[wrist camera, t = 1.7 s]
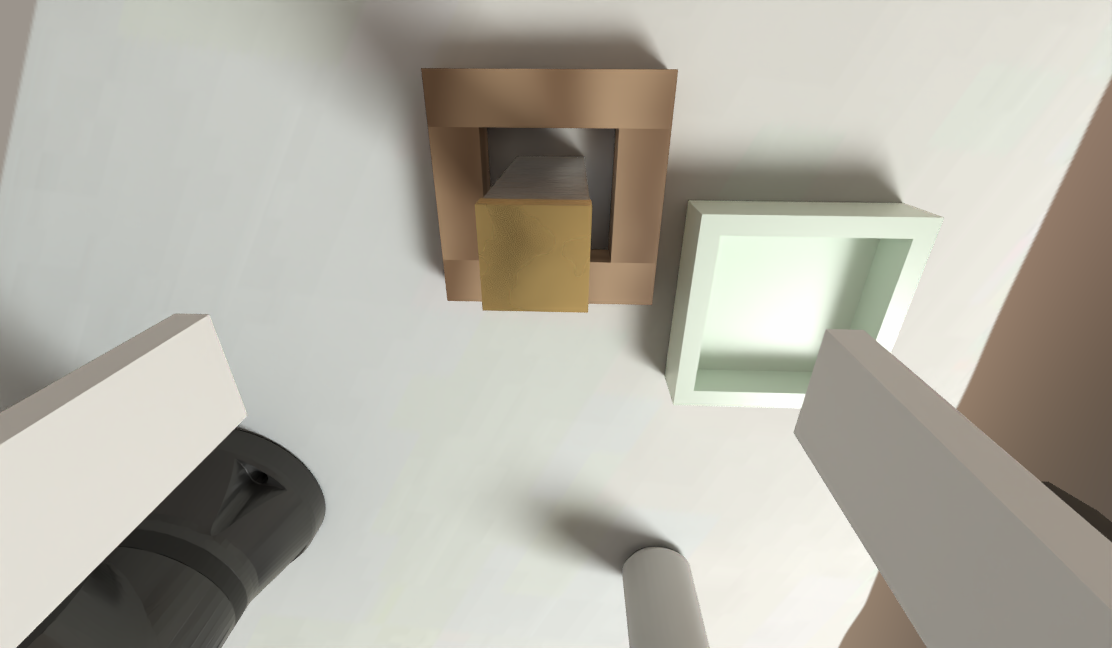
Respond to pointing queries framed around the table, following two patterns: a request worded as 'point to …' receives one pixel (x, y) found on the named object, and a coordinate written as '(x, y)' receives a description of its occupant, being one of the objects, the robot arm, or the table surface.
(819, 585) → the table surface
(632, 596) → the beverage can
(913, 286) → the bin
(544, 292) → the strut
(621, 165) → the socket block
